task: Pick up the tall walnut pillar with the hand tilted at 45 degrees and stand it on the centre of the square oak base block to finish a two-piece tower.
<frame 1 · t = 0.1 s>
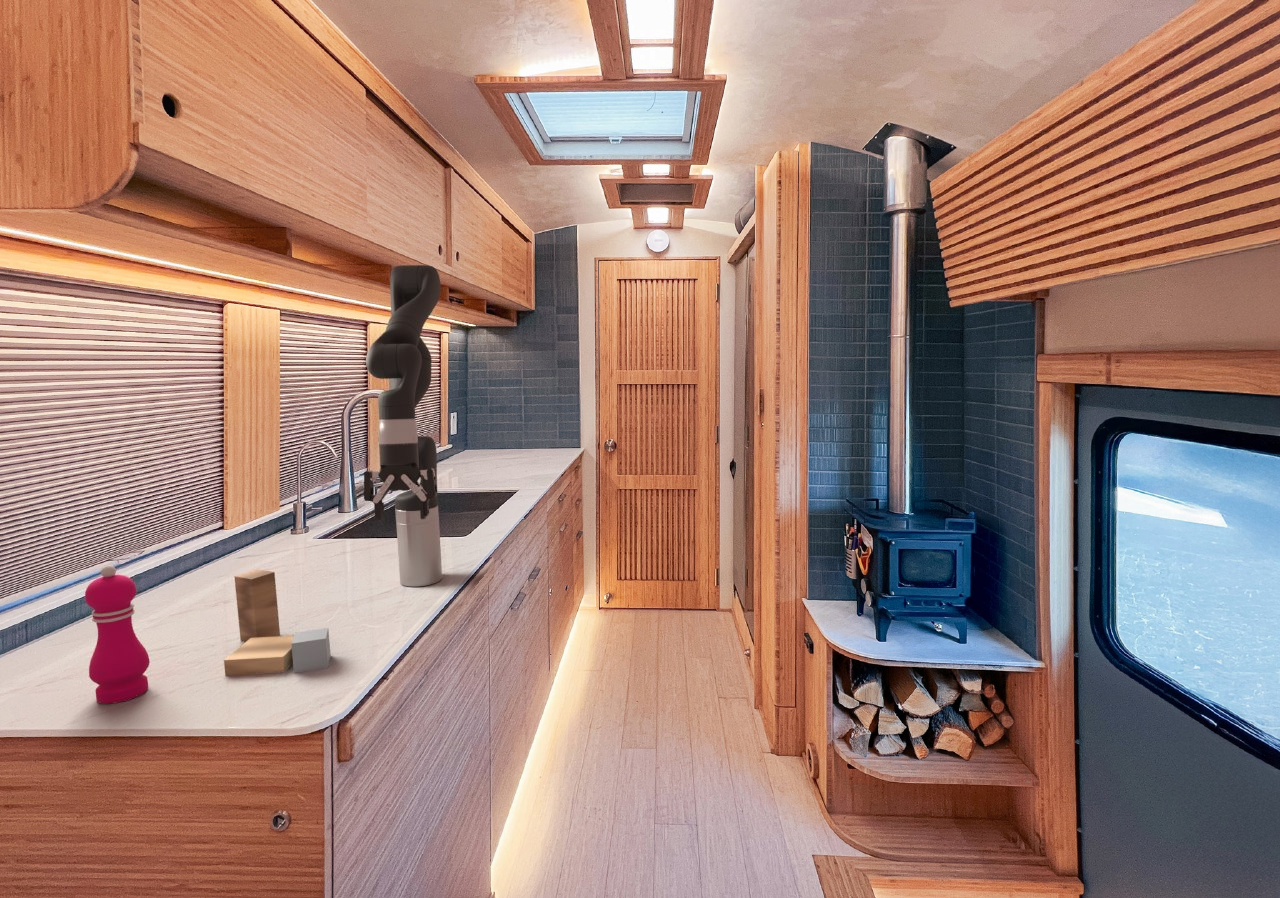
hand: (402, 519, 139), 17 cm above the table, tool pointing down, fingers open, 8 cm apart
pepper mill: (123, 695, 101), on the table
oak base: (267, 664, 112), on the table
walnut pillar: (260, 638, 122), on the table
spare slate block: (312, 664, 111), on the table
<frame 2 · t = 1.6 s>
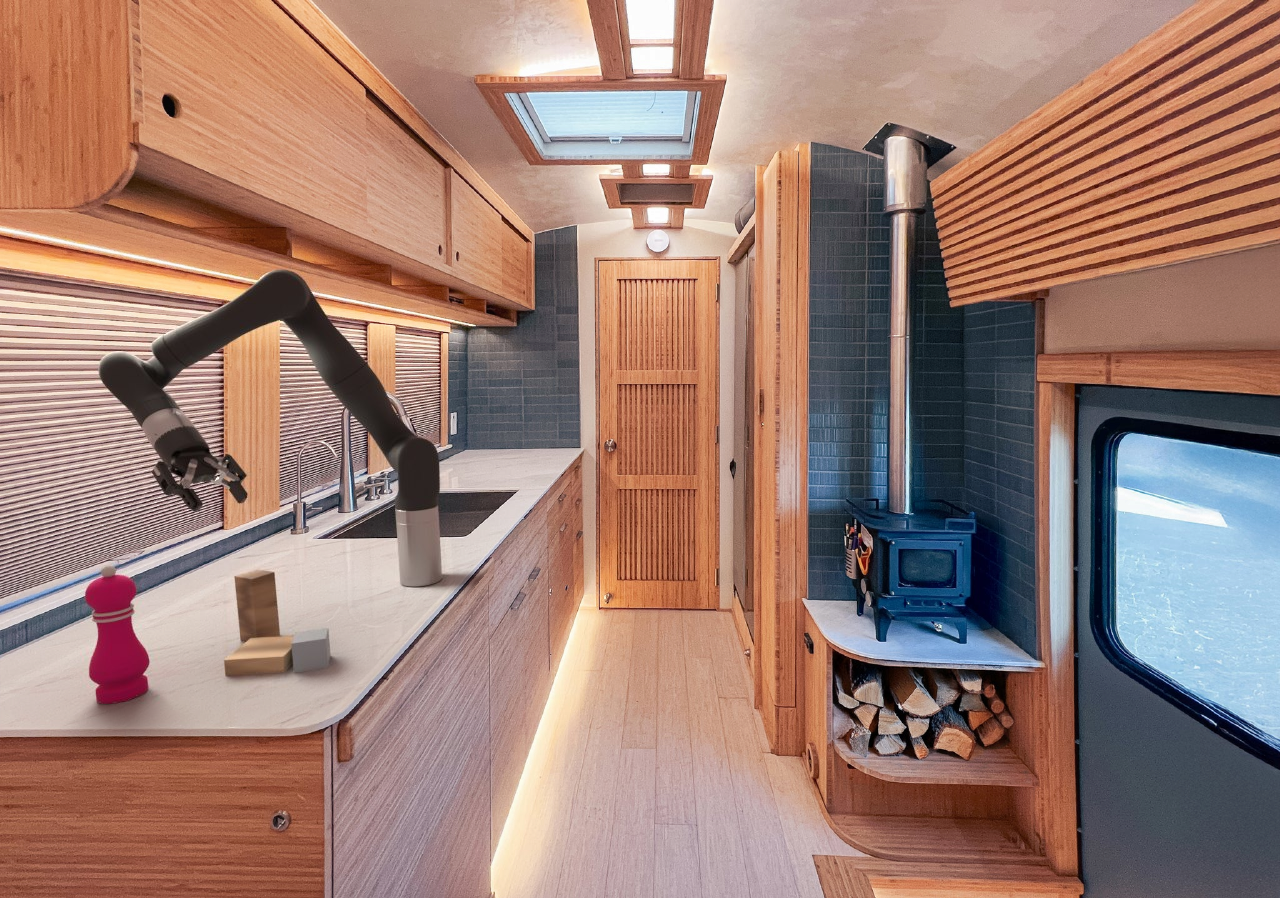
hand: (222, 504, 121), 25 cm above the table, tool tilted 45°, fingers open, 8 cm apart
nothing on the table moved.
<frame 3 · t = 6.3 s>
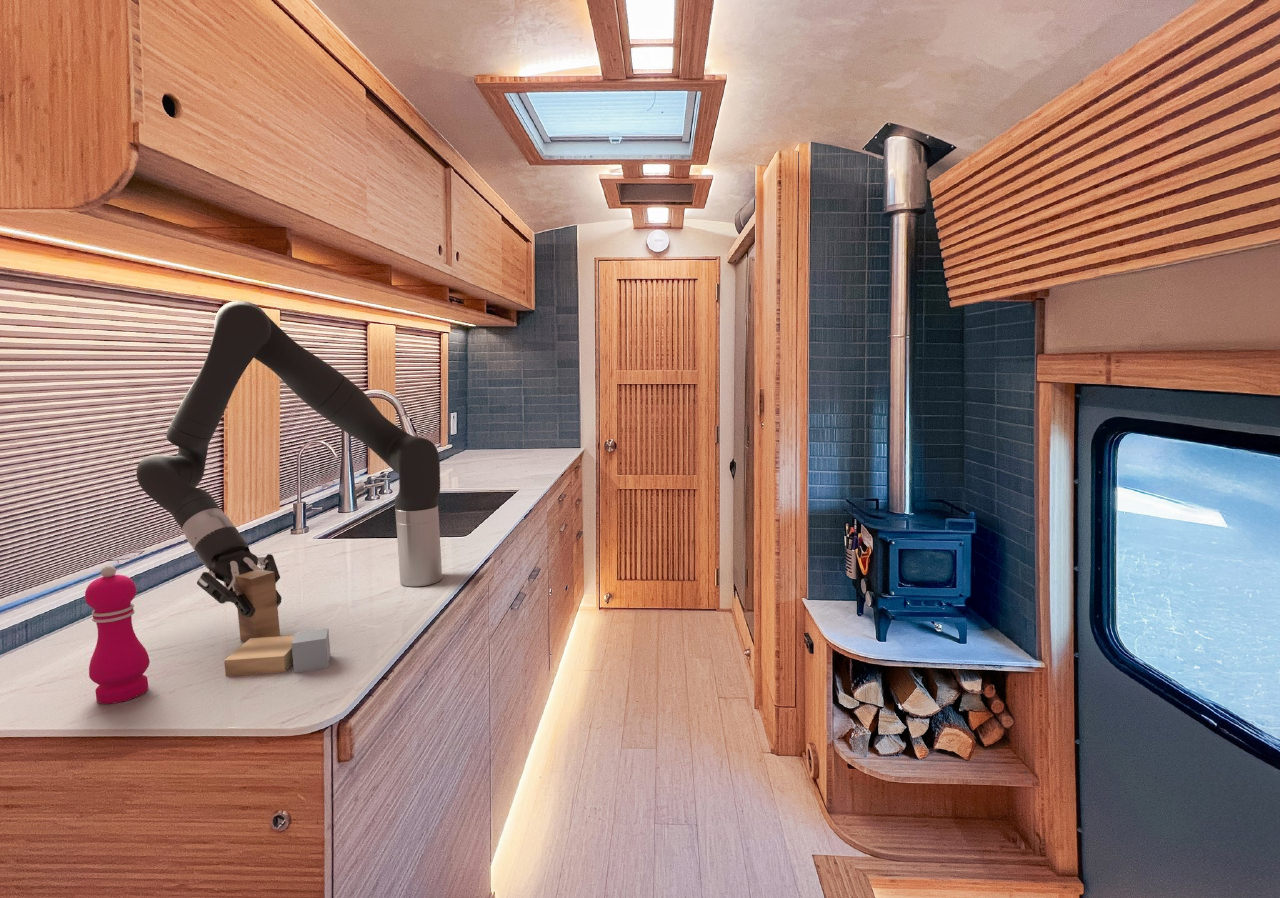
hand: (264, 609, 121), 6 cm above the table, tool tilted 45°, fingers closed on walnut pillar, 4 cm apart
walnut pillar: (260, 637, 122), on the table, touching gripper
everything else where it was.
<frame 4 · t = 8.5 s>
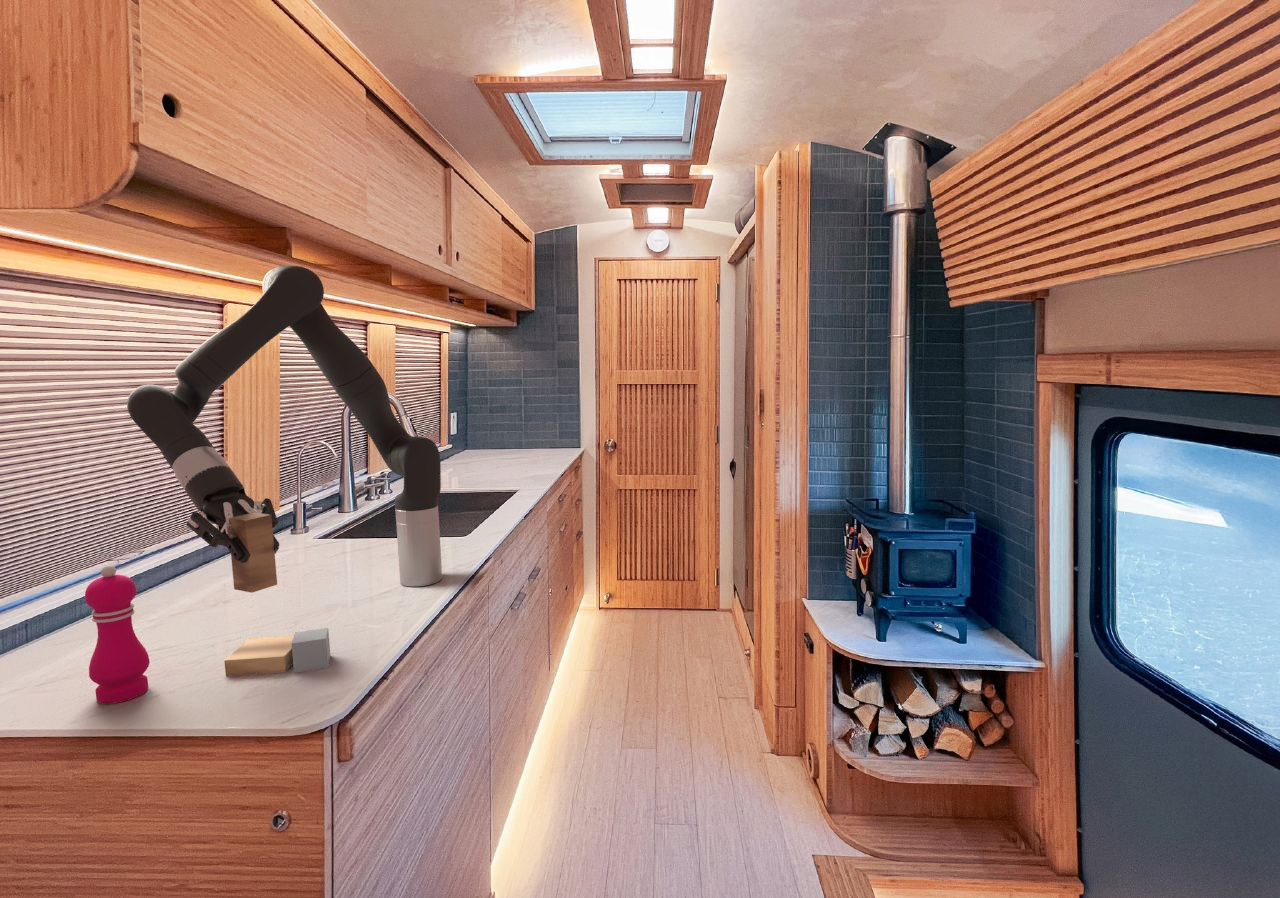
hand: (260, 555, 110), 18 cm above the table, tool tilted 45°, fingers closed on walnut pillar, 4 cm apart
walnut pillar: (256, 586, 112), point 12 cm above the table, touching gripper
everything else where it was.
when the fingers open (9 cm above the table, at t = 11.1 s): walnut pillar drops 1 cm, point 3 cm above the table.
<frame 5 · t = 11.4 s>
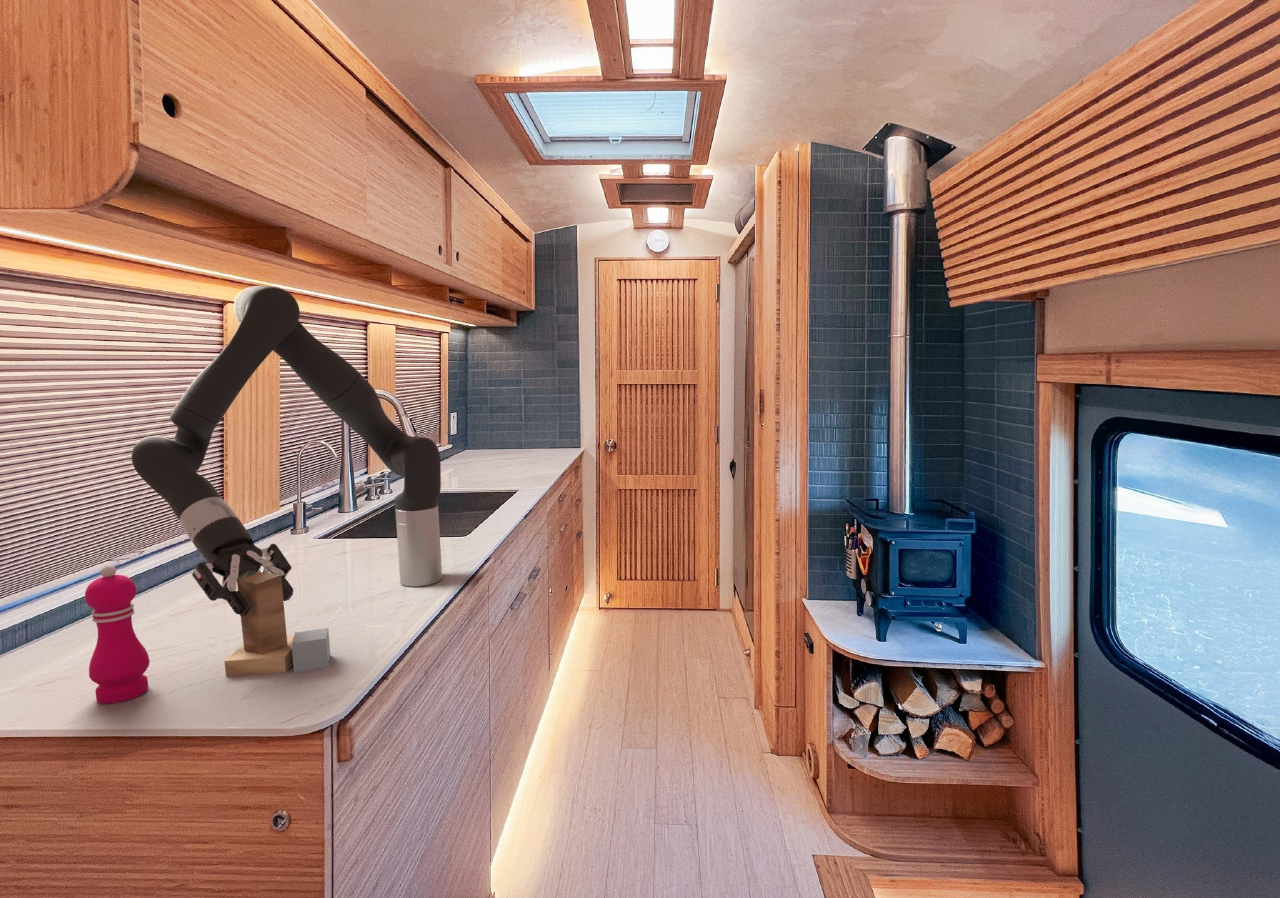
hand: (268, 604, 110), 10 cm above the table, tool tilted 45°, fingers open, 7 cm apart
walnut pillar: (266, 646, 112), point 3 cm above the table
everything else where it was.
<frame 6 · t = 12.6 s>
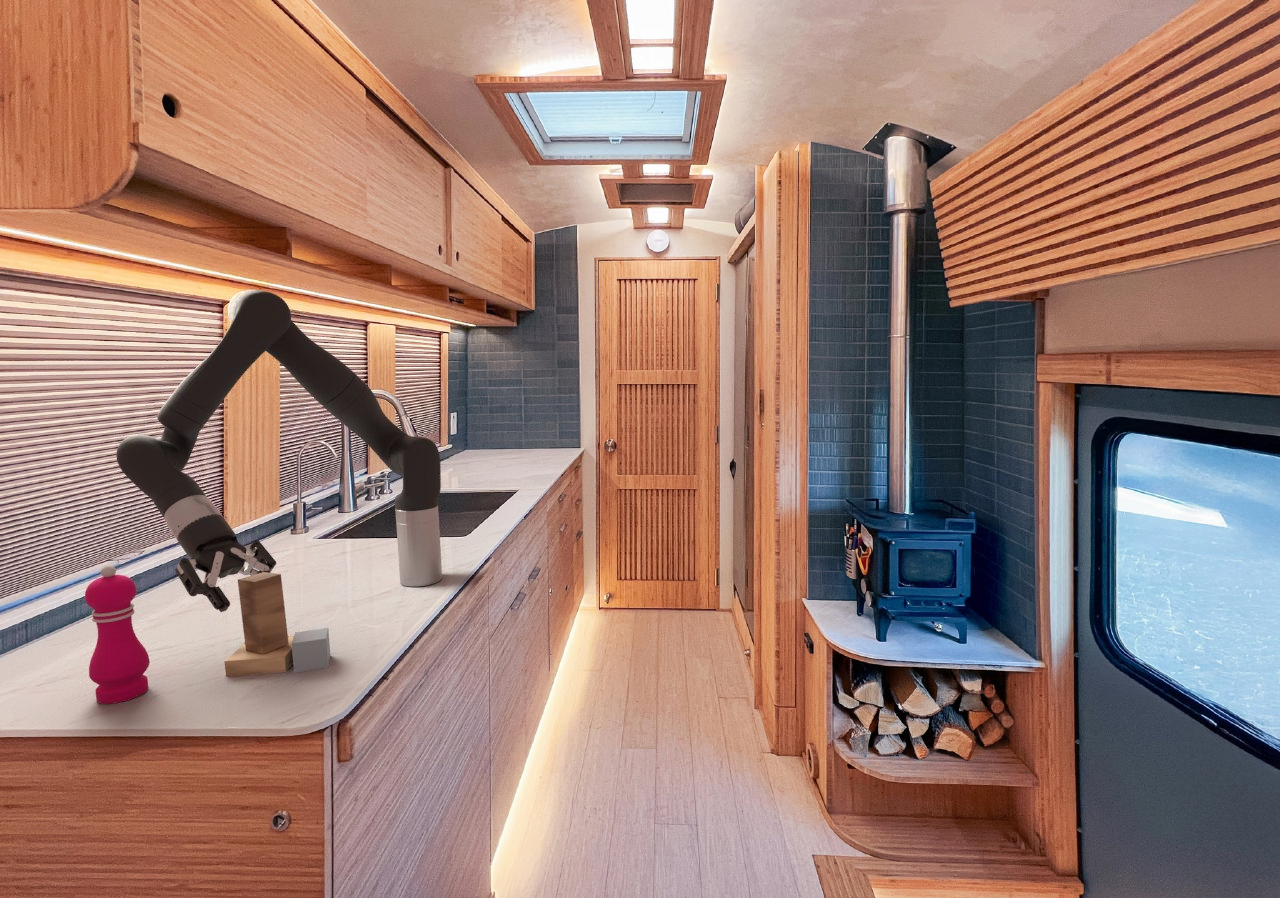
hand: (251, 600, 112), 10 cm above the table, tool tilted 45°, fingers open, 8 cm apart
oak base: (267, 664, 112), on the table, touching walnut pillar
walnut pillar: (267, 647, 112), point 3 cm above the table, touching oak base
everything else where it was.
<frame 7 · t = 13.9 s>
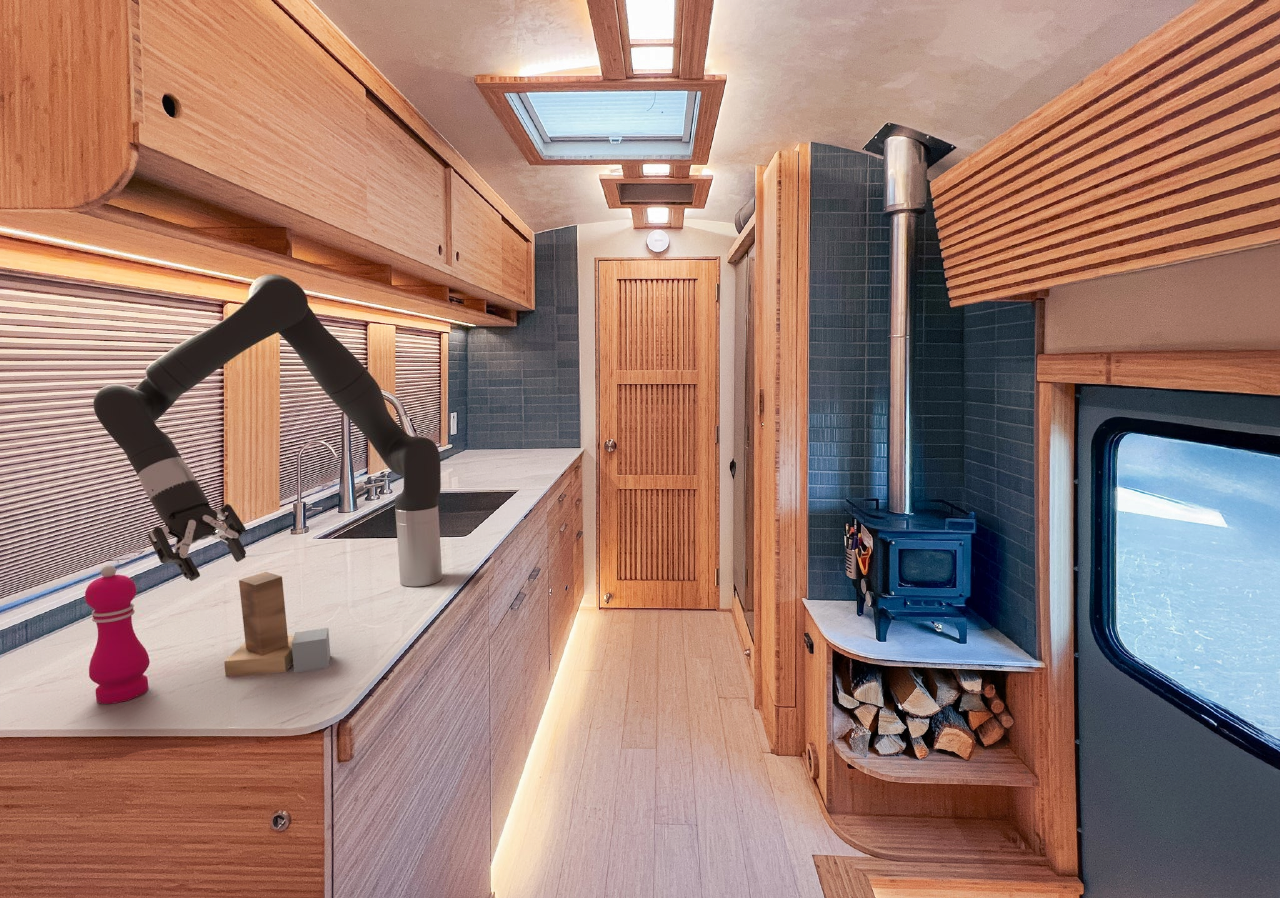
hand: (219, 568, 118), 14 cm above the table, tool tilted 30°, fingers open, 8 cm apart
oak base: (267, 664, 112), on the table
walnut pillar: (267, 647, 111), point 3 cm above the table
everything else where it was.
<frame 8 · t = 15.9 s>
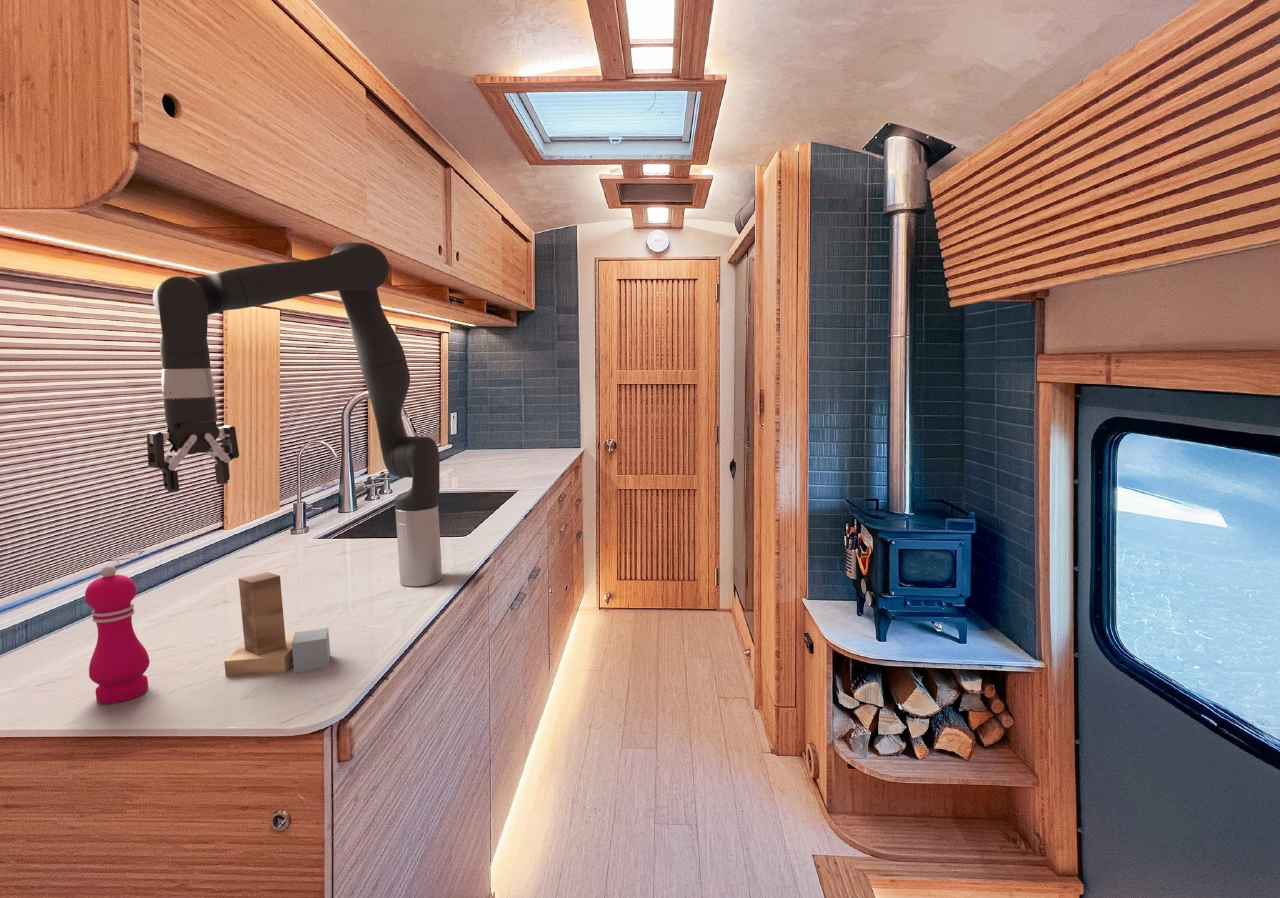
hand: (198, 487, 118), 28 cm above the table, tool pointing down, fingers open, 8 cm apart
oak base: (267, 664, 112), on the table, touching walnut pillar
walnut pillar: (265, 647, 111), point 3 cm above the table, touching oak base
everything else where it was.
at the end: walnut pillar inside the target area on the oak base (0.2 cm from its centre), point 3.1 cm above the oak base's base; walnut pillar tilted 1°; the gripper is holding nothing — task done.
